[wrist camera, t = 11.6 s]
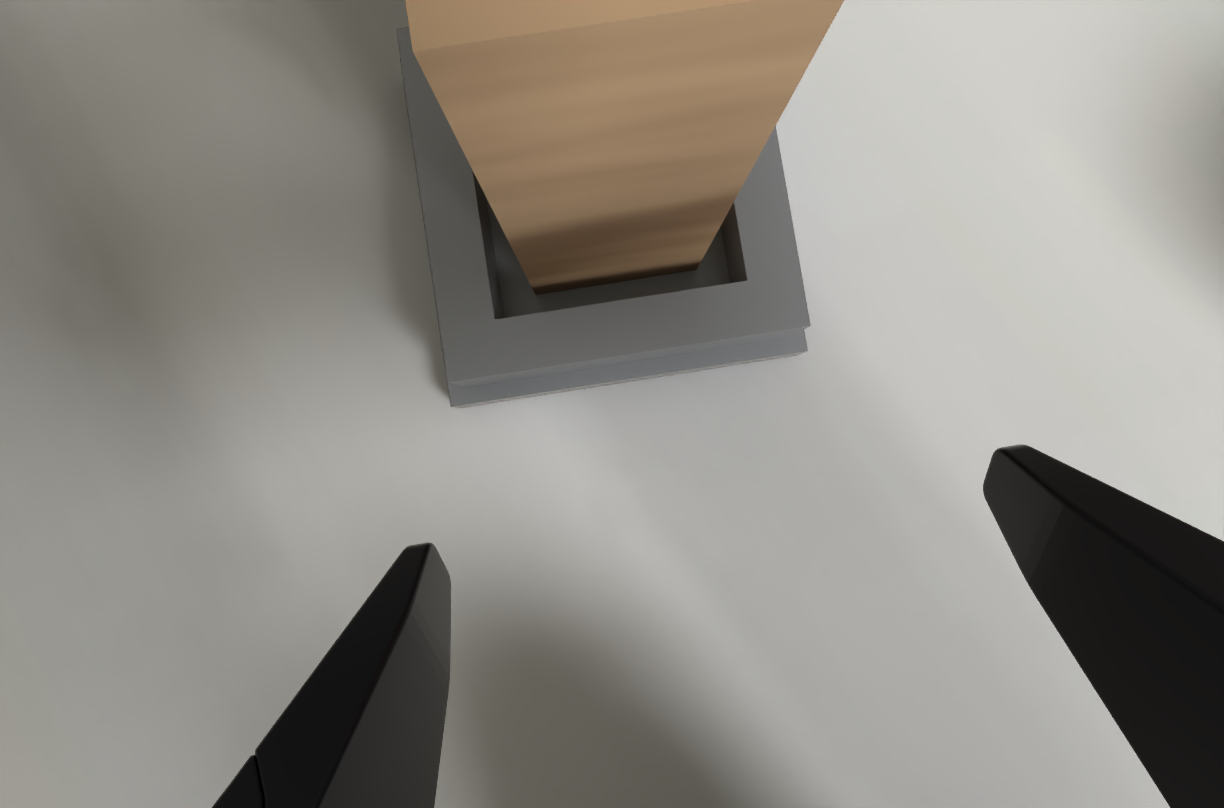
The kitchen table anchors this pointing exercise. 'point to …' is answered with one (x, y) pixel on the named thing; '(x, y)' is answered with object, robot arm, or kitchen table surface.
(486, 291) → the square gray tray
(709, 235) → the tall cardboard box
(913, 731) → the kitchen table surface
